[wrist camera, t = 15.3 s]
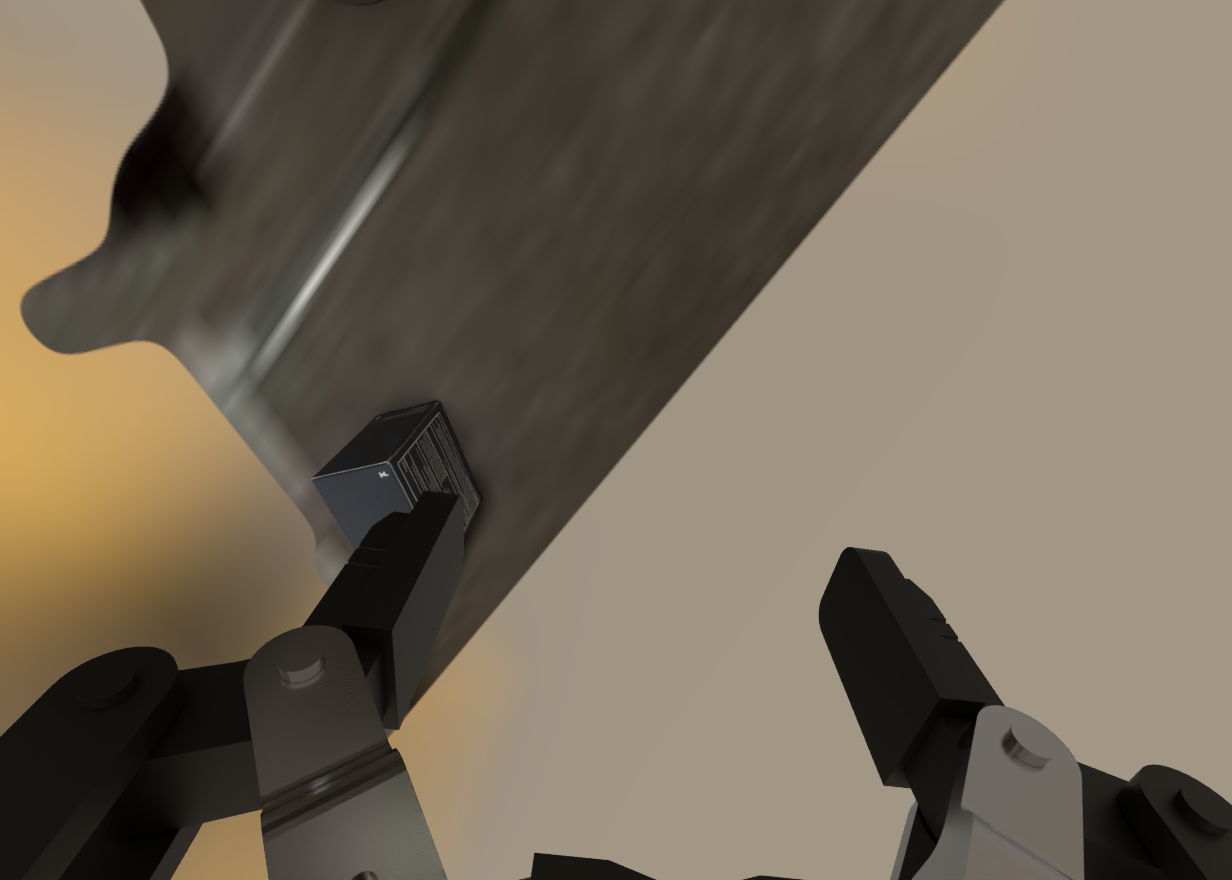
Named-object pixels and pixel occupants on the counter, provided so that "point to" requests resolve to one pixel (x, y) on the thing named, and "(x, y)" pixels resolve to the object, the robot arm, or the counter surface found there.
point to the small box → (395, 470)
